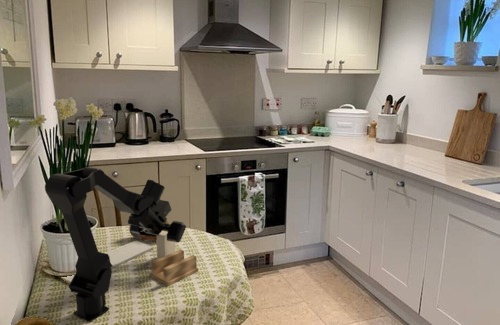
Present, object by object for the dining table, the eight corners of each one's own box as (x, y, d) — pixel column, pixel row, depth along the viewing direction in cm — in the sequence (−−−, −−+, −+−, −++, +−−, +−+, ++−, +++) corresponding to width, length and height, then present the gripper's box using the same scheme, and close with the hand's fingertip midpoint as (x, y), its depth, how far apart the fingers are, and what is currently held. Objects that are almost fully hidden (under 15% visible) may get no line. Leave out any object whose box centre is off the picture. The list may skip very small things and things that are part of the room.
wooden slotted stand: (168, 286, 119) (167, 270, 118) (150, 275, 125) (149, 261, 124) (197, 271, 128) (197, 257, 127) (179, 262, 134) (179, 248, 133)
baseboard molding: (52, 276, 125) (75, 288, 118) (51, 267, 124) (74, 279, 117) (131, 242, 150) (153, 250, 143) (130, 235, 149) (153, 243, 143)
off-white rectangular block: (165, 263, 133) (164, 235, 131) (157, 261, 134) (156, 233, 132) (175, 255, 139) (174, 229, 136) (167, 254, 140) (166, 227, 138)
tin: (129, 239, 151) (128, 218, 149) (132, 236, 154) (131, 215, 152) (169, 241, 150) (168, 220, 149) (170, 237, 154) (170, 217, 152)
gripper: (182, 199, 124) (200, 221, 137) (133, 191, 131) (155, 212, 143) (168, 232, 119) (188, 251, 131) (118, 221, 126) (142, 241, 138)
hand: (168, 237), depth 136 cm, fingers open, 7 cm apart
